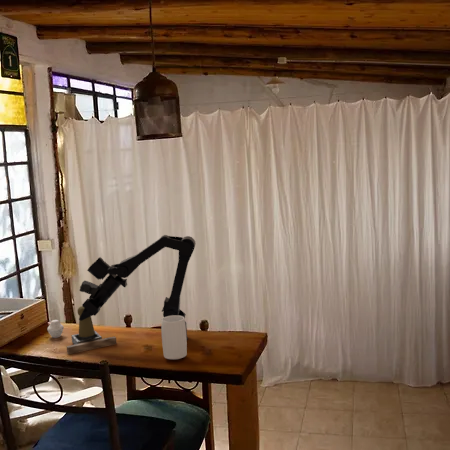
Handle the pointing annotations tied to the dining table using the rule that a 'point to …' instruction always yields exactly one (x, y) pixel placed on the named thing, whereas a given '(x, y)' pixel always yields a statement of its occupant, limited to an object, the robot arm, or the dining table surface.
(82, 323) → the olive brown shaker
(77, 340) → the collar
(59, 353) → the dining table surface
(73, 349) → the door edge strip
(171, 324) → the cup
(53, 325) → the white vase
